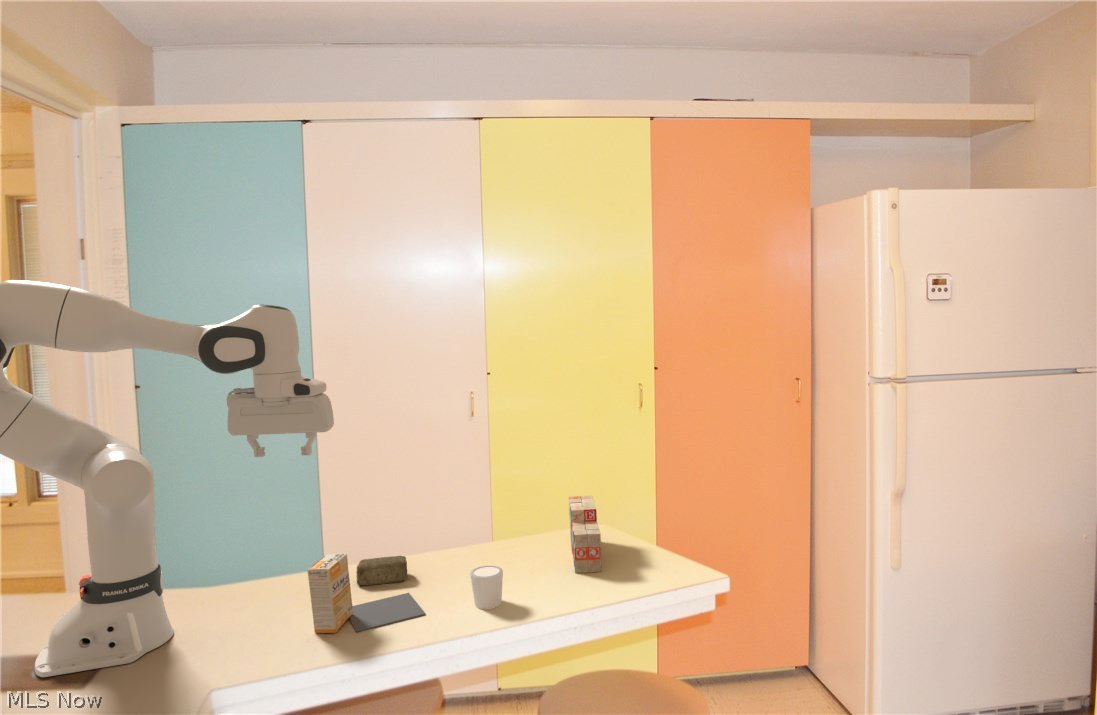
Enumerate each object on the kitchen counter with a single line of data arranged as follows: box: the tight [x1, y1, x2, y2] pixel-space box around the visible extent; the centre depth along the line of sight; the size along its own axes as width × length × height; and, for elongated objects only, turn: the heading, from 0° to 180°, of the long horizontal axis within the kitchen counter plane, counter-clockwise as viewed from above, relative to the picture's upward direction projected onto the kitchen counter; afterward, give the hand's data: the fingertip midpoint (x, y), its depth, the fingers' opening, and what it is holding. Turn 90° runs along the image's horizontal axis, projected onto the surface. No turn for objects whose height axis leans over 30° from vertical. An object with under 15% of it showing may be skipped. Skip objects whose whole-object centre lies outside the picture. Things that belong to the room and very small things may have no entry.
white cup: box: [469, 565, 504, 610], centre depth 147 cm, size 7×7×7 cm
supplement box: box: [307, 553, 353, 634], centre depth 140 cm, size 8×5×13 cm, turn 171°
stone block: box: [356, 555, 408, 586], centre depth 162 cm, size 6×12×5 cm, turn 101°
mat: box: [348, 592, 426, 633], centre depth 145 cm, size 14×12×1 cm
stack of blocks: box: [568, 495, 602, 574], centre depth 171 cm, size 21×6×12 cm, turn 1°
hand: (283, 455), depth 139 cm, fingers open, 8 cm apart
